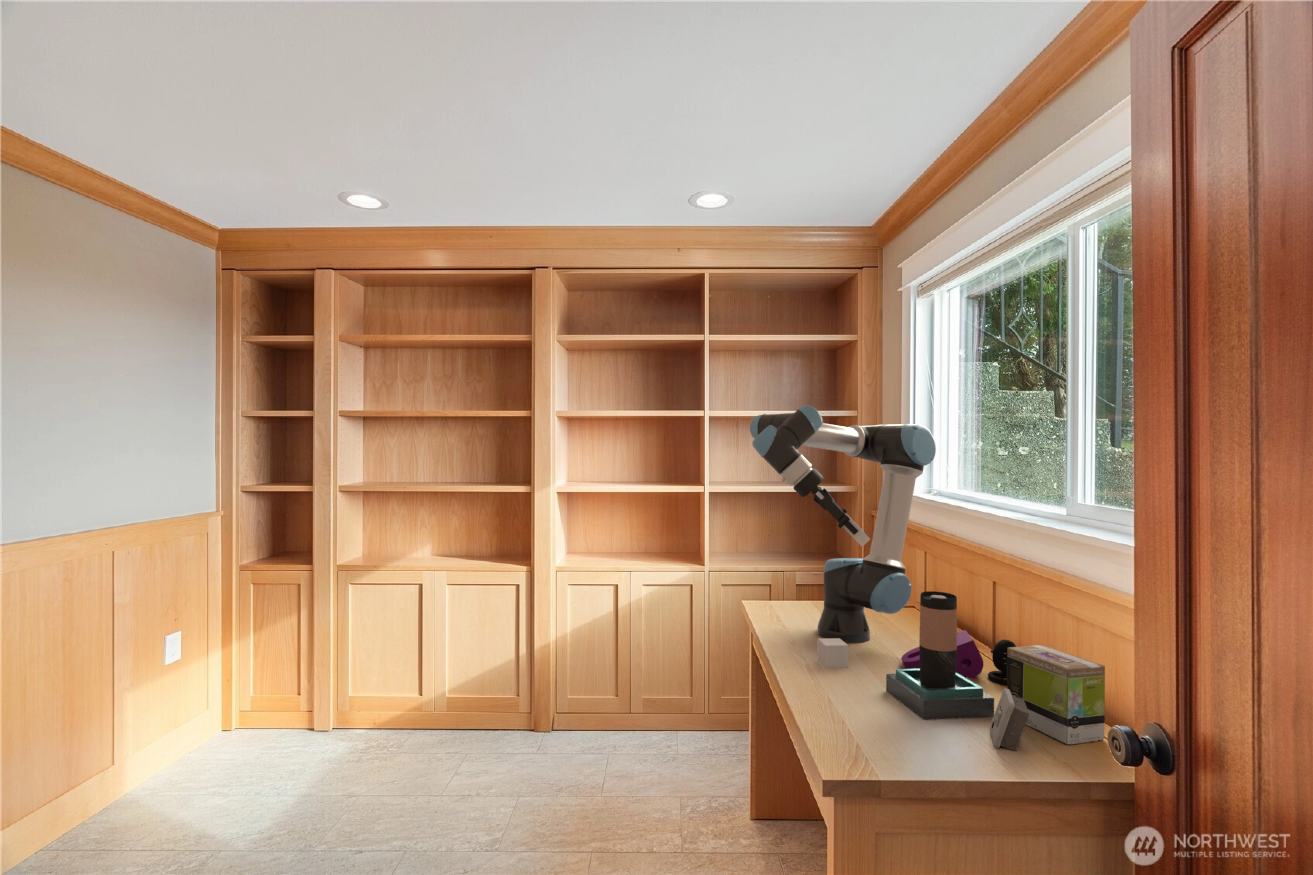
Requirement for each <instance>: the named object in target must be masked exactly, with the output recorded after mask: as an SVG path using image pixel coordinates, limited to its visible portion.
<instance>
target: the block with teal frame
mask: <svg viewBox="0 0 1313 875" xmlns="http://www.w3.org/2000/svg"><path fill="white" fill-rule="evenodd" d="M885 677H886V678H885V681H886V682H885V686H886V687H885V691H886V693H888V694H889V695H890V696H892V697H893V698H894V699H896V700H897V701H899V703H901V704H902V705H904V707H906V708H907V709H909V710H910V711H911V712H913V713H914V714H916V715H917V716H918V717H919V718H920V719H922V720H923V721H927V720H947V719H948V720H949V719H952V720H953V719H970V718H971V719H972V718H973V719H974V718H993V717H994V714H995V697H994V696H992V695H990V694H989V693H987V692H985V691H984V688H983V687H982V686H981V685H978V684H977V683H975V682H974V681H971V680H970V679H969V678H965V677H963V676H961V675H960V674H958V673H956V677H955V688H927V687H925V686H924V685H923V684H921V683H920V668H919V669H907V668H896V669H895V673H886V675H885Z"/></svg>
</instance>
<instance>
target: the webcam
mask: <svg viewBox="0 0 1313 875" xmlns="http://www.w3.org/2000/svg"><path fill="white" fill-rule="evenodd" d="M1009 647H1017V645H1016V644H1015V642H1013V641H1011V640H1009V639H1001V640H999V641H998V642H997V643H996V644H995V645H994V647H993V649H990V653H991V656H992V657H991V658H992V663H993V665H994V667H995V669H997V670H991V671H989V672H988V673H987V678H988V679H989V680H990V681H991V682H994V683H995V684H998V685H1003V686H1007V648H1009Z"/></svg>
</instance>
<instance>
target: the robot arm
mask: <svg viewBox="0 0 1313 875" xmlns="http://www.w3.org/2000/svg"><path fill="white" fill-rule="evenodd" d="M749 432H750V435H751V436H752V438H753V441H752V447H753V448H754V450H756V452H757V453H758V454H759V455H760V457H761V458H763V459H764V460H765V461H766V462H767V463H768V464H769V466H771V467H772V468H773V469H774V470H775V471H776V473H778V474H779V475H780V476H781V481H782V482H785V481H786V482H787V483H788V485H790V486H793V490H794V491H795V493H797V494H798V495H799V496H800V497H801V498H805V497H806V496H808V495H809V494H810V493H811V494H812V496H813V501H814V502H815V503H816V504H817V505H819V506H820V507H821V508H822V509H823V510H825V511H827V512H828V513H829V514H830V515H831V516H832V517H833V518H834V520H835V521H836V522H838V524H837V527H838V528H840V529H844V530H845V531H846V532H847V533H848V534H849V535H850V537H852V538H853V539H854V540H855V541H856V542H857V544H859V545H860V547H864V546H865V545H866V544H867V543H868V542H870V540H871V539H872V540H871V545H870V550H869V554H868V555H866V556H865V557H863V558H861V557H860V558H859V557H847V558H846V557H841V558H829V559H827V560H826V561H825V563H824V571H823V609H822V612H821V614H820V618H819V620H818V622H817V623H818V624H817V635H818V636H820V637H821V638H822V639H827V638H840V639H841V640H842V641H844V642H845V643H862V642H866V641H868V640H870V638H871V633H870V632H871V630H870V628H869V622H868V620H867V617H866V614H865V608H866V609H869V610H872V611H874V612H876V613H880V614H888V615H893V614H894V615H895V614H896V613H898V612H901V611H902V610H903V609H904V608H905V607H906V606H907V604H908V603H909V601H910V598H911V594H912V583H911V580H910V578H909V577H908V576H907V575H906V566H905V565H904V563H903V561H902V557H903V553H904V548H905V547H904V546H905V541H906V536H907V530H908V523H909V520H910V514H911V508H912V502H913V496H914V491H915V485H916V480H917V478H918V477H920V476H921V475H923V474H924V467H925V466H927V465H930V464H931V463H932V462H933V461H934V459H935V457H936V453H937V450H936V449H937V445H936V439H935V438H934V436H933V434H932V432H931V430H930V429H929V428H927V427H926V426H925V425H923V424H919V423H918V424H917V423H916V424H914V423H900V424H898V423H897V424H876V425H857V424H852V425H850V426H848V427H847V426H842V425H836V424H830V423H824V422H823V417H822V415H821V414H820V412H819V411H818V410H817V409H816V408H815V407H814V406H812V405H809V404H805V405H802V406H800V407H799V408H797V409H796V411H794V412H791V413H789V412H788V413H787V412H786V413H772V414H766V413H763V414H759V415H756V416H754V417H753V418H752V420H751V421H750V425H749ZM800 447H808V448H816V449H821V450H828V451H835V452H841V453H844V454H845V455H846V456H848V457H851V458H858V459H862V460H866V461H870V462H873V463H879V464H880V465H879V466H880V469H882V471H883V472H884V475H883V480H882V485H881V491H880V497H879V503H878V507H877V514H876V518H875V524H874V530H873V534H872V538H870V537H869V536H868V535H867V534H866V533H865V531H864V530H863V529H862V527H860V526H859V525H858V523H856V522H855V520H854V519H853V518H852V517H850V515H849V514H848V513H847V512H848V510H847V509H846V508H842V507H840V506H839V505H838V504H837V503H836V501H835V499H834V498H833V497H832V496H831V494H830V492H829V491H828V490H827V489H826V488H822V487H821V486H819V485H820V484H821V483H822V482H823V480H824V475H823V474H821V472H819V471H818V469H816V468H814V467H813V464H812V463H811V462H810V461H809V460H808V459H807V458H806V457H804V455H803V454H802V453H801V452H799V450H798V449H800ZM812 467H813V468H812Z"/></svg>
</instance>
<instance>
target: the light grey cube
mask: <svg viewBox="0 0 1313 875" xmlns="http://www.w3.org/2000/svg"><path fill="white" fill-rule="evenodd" d="M816 655H817V661H816V662H818V663H819V664H820V665H821V666H822V667H823V668H824V669H826V670H827V669H828V670H831V669H848V668H849V645H848V644H847V642H844V641H842V640H841V639H840V638H827V639H826V638H817V654H816Z"/></svg>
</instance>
